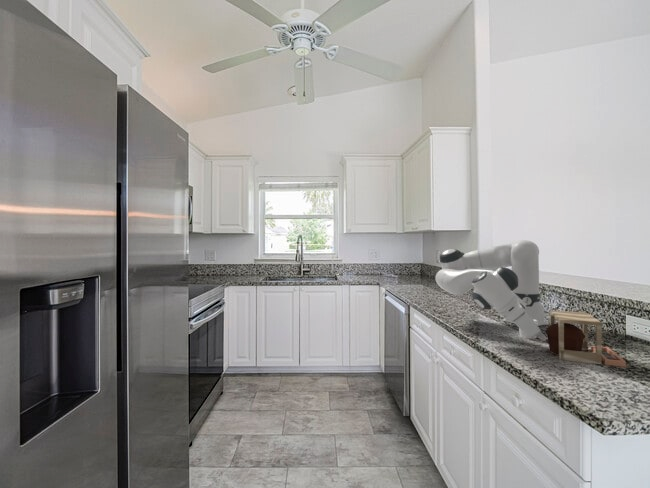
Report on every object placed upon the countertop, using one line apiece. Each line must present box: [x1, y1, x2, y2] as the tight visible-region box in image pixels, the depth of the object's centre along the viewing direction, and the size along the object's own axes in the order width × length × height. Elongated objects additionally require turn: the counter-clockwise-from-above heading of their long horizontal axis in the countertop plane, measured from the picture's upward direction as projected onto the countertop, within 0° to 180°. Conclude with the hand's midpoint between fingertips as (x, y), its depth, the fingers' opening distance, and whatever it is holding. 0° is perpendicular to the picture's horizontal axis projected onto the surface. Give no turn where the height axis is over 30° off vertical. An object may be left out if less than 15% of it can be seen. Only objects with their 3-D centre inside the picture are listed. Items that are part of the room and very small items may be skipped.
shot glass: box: [518, 319, 538, 340], centre depth 139 cm, size 7×7×7 cm
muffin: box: [544, 322, 585, 356], centre depth 119 cm, size 12×11×10 cm
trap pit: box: [590, 345, 627, 368], centre depth 114 cm, size 16×5×2 cm, turn 156°
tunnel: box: [549, 309, 603, 365], centre depth 117 cm, size 16×11×13 cm
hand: (544, 339), depth 121 cm, fingers closed
